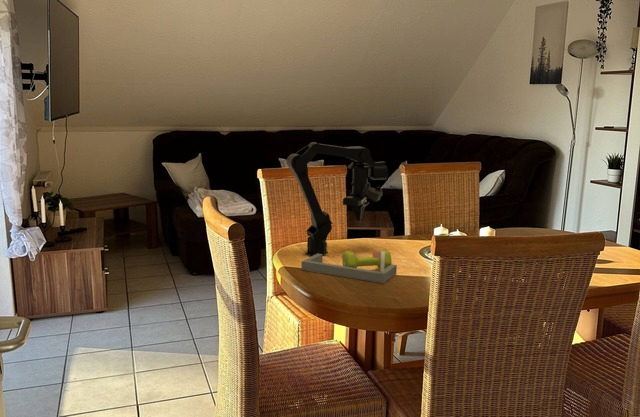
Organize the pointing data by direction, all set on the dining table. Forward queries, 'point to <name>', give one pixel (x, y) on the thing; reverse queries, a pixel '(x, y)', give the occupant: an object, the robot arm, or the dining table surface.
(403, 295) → the dining table surface
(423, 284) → the dining table surface
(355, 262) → the dumbbell
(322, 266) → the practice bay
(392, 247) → the dining table surface
